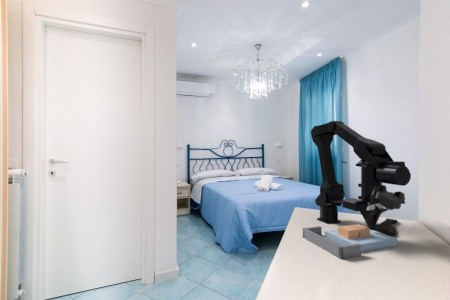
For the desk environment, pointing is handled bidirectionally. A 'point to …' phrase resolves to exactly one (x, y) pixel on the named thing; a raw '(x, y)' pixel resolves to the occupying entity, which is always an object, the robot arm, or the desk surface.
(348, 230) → the tile
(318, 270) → the desk surface
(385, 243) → the board
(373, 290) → the desk surface
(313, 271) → the desk surface
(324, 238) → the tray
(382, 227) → the black spiral-grooved part
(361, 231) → the tile
